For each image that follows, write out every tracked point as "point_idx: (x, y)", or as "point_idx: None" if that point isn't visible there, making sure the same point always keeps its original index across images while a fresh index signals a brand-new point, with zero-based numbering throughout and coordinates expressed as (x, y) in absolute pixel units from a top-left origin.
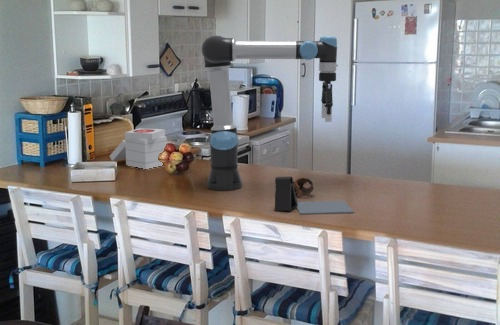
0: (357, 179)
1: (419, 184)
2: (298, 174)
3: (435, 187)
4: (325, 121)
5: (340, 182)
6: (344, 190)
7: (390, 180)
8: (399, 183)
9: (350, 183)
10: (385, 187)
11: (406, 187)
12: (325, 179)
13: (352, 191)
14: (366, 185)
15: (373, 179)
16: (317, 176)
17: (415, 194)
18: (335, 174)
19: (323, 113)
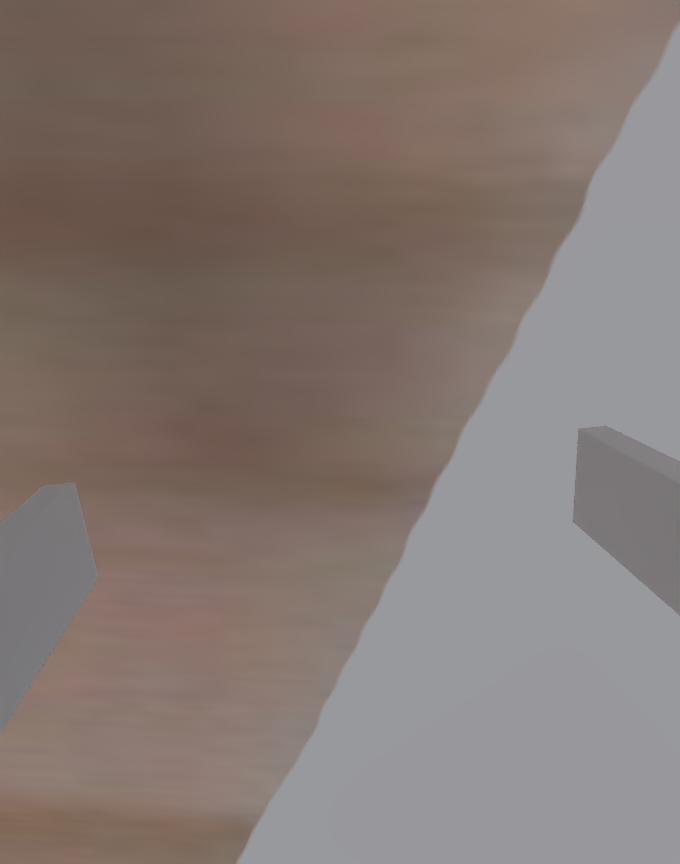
0: (316, 529)
1: (229, 779)
2: (445, 182)
3: (177, 828)
4: (39, 490)
5: (232, 439)
6: (33, 453)
7: (303, 675)
8: (240, 707)
9: (213, 490)
10: (143, 646)
11: (158, 728)
12: (305, 356)
13: (18, 492)
14: (175, 565)
15: (321, 604)
16: (387, 309)
17: (20, 753)
18: (443, 418)
19: (624, 487)
